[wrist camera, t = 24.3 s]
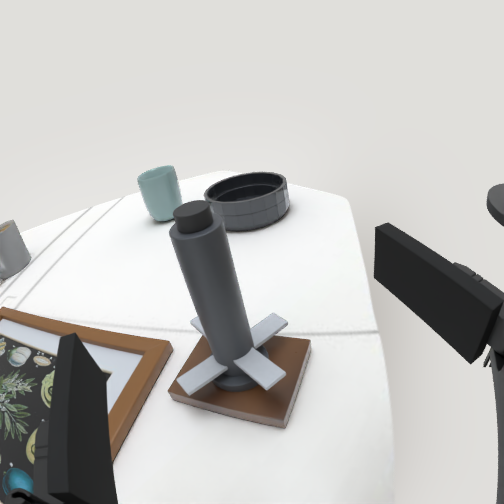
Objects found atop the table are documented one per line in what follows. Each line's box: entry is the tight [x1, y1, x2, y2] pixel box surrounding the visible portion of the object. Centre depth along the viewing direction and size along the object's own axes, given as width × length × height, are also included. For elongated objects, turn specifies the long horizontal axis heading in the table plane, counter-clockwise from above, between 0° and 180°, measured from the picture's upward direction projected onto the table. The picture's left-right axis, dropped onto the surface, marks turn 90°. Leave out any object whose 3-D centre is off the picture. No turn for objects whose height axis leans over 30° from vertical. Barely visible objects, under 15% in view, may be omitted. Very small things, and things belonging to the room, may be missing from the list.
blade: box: [169, 200, 288, 396], centre depth 24 cm, size 11×11×16 cm
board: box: [168, 335, 311, 428], centre depth 29 cm, size 11×9×2 cm
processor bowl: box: [204, 172, 290, 231], centre depth 58 cm, size 15×15×6 cm
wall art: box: [0, 307, 173, 504], centre depth 26 cm, size 31×2×38 cm
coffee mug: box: [0, 220, 31, 279], centre depth 57 cm, size 13×10×10 cm
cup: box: [137, 166, 182, 221], centre depth 63 cm, size 8×8×10 cm
